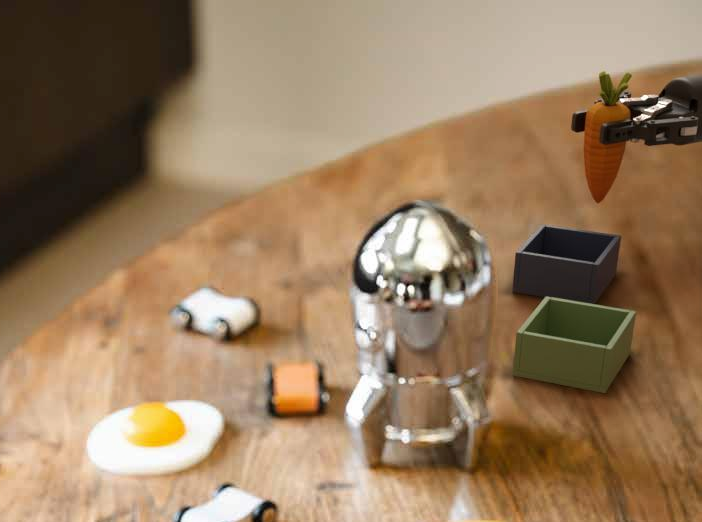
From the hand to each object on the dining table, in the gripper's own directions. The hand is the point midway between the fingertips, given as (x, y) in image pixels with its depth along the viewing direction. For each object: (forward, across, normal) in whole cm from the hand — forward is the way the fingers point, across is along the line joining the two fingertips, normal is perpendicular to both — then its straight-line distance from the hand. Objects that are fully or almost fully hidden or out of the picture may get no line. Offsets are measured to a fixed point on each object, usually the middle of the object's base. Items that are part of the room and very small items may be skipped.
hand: (588, 128), depth 137 cm
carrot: (-3, 0, +9) cm, 10 cm away
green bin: (+19, +27, +13) cm, 36 cm away
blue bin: (+8, +10, +13) cm, 19 cm away
